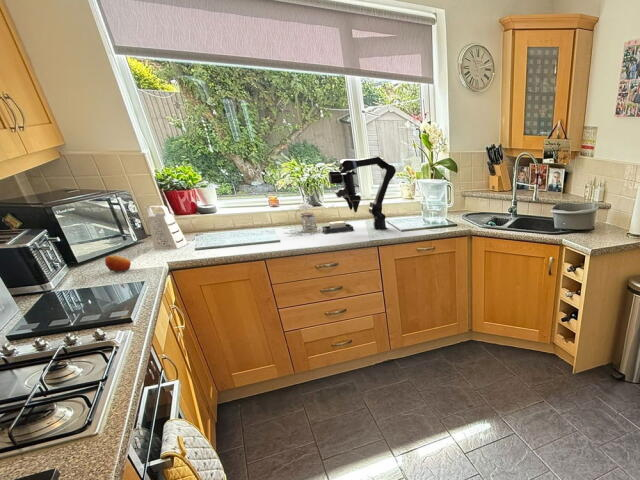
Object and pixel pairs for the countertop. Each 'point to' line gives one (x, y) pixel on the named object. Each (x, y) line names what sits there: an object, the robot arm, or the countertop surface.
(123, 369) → the countertop surface
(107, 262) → the fruit
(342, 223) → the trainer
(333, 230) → the shoe tray
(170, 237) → the grater
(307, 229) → the french press
